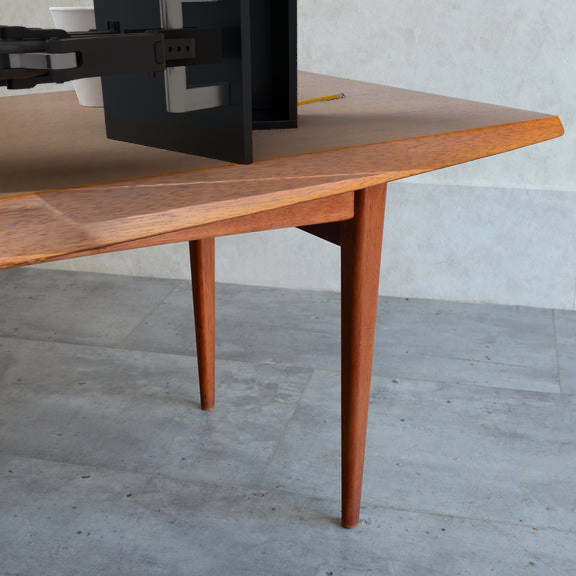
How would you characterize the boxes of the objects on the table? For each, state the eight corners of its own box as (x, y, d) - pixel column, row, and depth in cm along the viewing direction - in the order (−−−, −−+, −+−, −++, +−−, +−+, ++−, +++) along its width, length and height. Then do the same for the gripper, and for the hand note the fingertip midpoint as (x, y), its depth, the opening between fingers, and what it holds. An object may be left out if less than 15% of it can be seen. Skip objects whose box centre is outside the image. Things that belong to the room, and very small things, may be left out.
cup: (68, 98, 106) (58, 6, 101) (152, 96, 107) (145, 5, 102) (52, 110, 95) (39, 7, 90) (145, 108, 96) (137, 6, 91)
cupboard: (297, 129, 80) (297, -74, 73) (110, 137, 77) (90, -76, 69) (279, 115, 89) (277, -67, 82) (111, 122, 86) (93, -68, 78)
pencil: (344, 98, 106) (344, 93, 105) (288, 109, 96) (288, 104, 95) (340, 97, 106) (340, 92, 106) (284, 109, 96) (284, 103, 96)
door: (193, 176, 59) (178, -99, 52) (55, 146, 71) (27, -80, 64) (253, 162, 64) (247, -92, 57) (114, 136, 76) (94, -75, 69)
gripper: (-125, 112, 51) (155, 84, 67) (-38, 141, 41) (271, 100, 56) (-150, -3, 49) (149, -5, 64) (-62, -4, 38) (270, -6, 53)
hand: (206, 44), depth 60 cm, fingers open, 2 cm apart
